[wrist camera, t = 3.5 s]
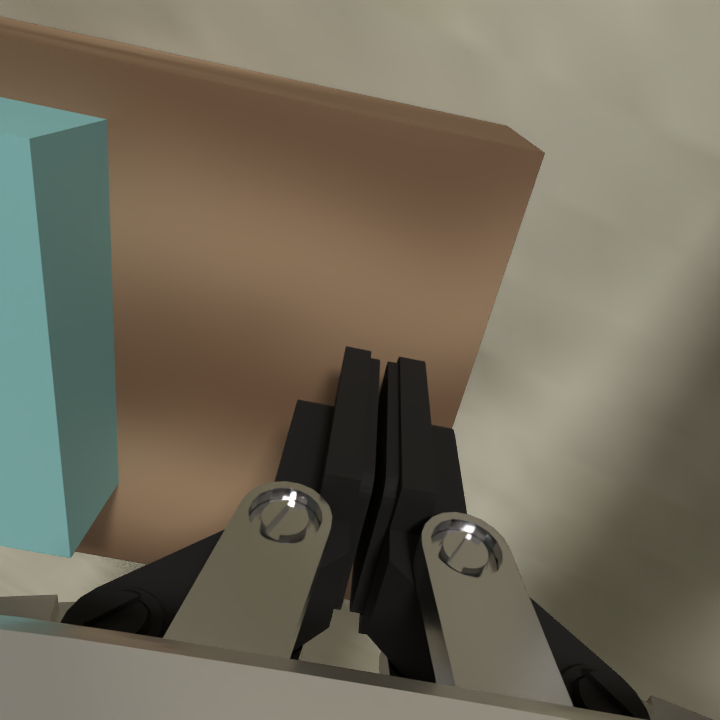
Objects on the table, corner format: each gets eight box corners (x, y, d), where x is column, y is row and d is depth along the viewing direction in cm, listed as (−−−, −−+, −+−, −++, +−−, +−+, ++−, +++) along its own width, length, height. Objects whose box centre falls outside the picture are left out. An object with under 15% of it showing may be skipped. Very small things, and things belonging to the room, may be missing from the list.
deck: (-431, -76, 13) (-743, -122, 9) (507, 125, 14) (544, 152, 10) (-238, 393, 19) (-381, 471, 16) (392, 509, 20) (391, 607, 17)
